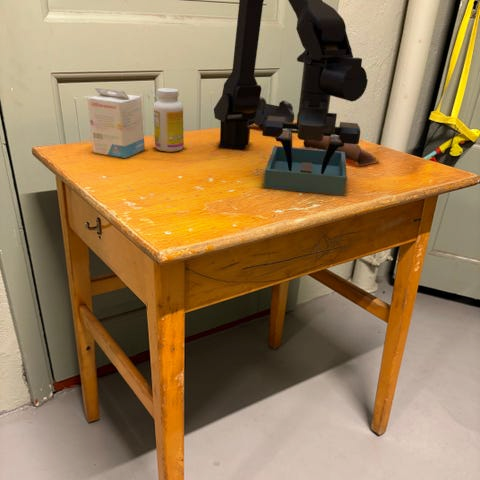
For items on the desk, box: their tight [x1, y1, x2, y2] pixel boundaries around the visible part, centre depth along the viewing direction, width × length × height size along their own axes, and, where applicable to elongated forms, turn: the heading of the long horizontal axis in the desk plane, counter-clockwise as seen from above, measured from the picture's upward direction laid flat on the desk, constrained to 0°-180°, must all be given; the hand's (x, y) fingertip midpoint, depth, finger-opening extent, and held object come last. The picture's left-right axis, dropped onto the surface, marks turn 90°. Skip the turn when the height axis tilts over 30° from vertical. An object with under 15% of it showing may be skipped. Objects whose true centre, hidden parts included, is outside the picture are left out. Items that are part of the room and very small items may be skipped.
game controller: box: [248, 96, 295, 130], centre depth 140 cm, size 16×7×10 cm, turn 52°
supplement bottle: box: [152, 87, 185, 153], centre depth 119 cm, size 7×7×13 cm
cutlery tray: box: [263, 145, 348, 197], centre depth 108 cm, size 16×19×4 cm
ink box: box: [87, 87, 146, 159], centre depth 114 cm, size 9×8×13 cm
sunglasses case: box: [302, 136, 379, 167], centre depth 124 cm, size 18×7×7 cm
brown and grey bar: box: [300, 162, 312, 173], centre depth 108 cm, size 12×2×2 cm, turn 172°
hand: (305, 173), depth 107 cm, fingers open, 6 cm apart
